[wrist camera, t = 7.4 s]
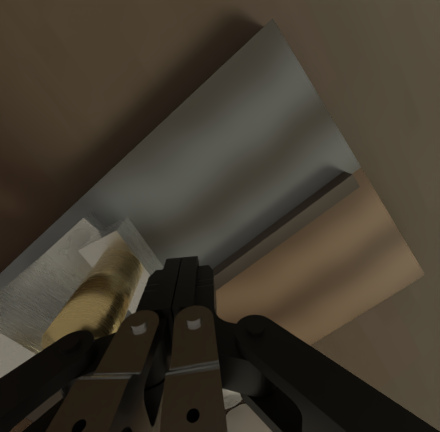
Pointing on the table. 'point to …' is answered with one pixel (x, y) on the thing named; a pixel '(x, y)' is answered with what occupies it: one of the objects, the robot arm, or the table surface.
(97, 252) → the swing bar
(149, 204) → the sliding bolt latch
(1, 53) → the table surface
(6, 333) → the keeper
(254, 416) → the foam cup
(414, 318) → the table surface
